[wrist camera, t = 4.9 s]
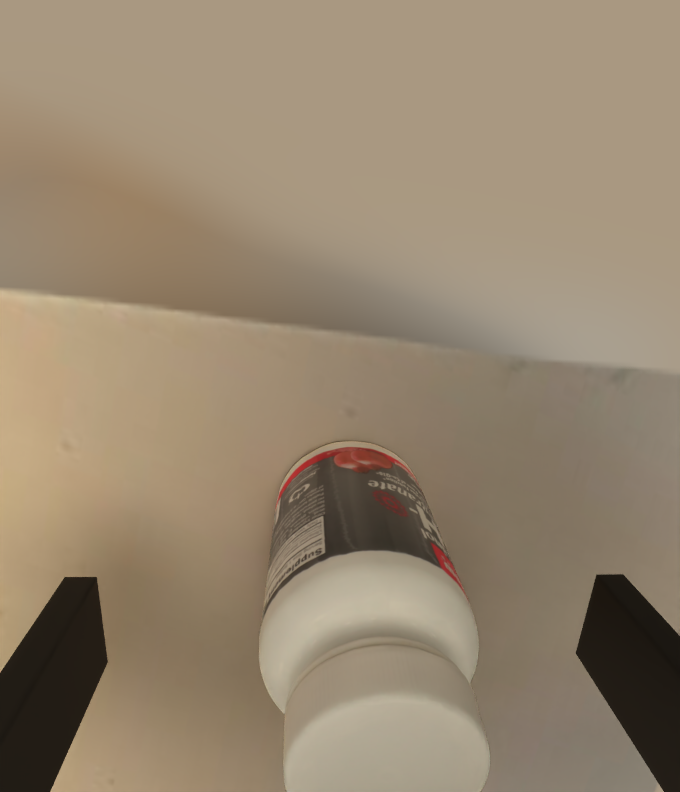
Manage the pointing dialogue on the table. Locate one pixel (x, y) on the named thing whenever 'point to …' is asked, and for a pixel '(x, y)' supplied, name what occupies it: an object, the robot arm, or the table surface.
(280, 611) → the pill bottle
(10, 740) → the robot arm
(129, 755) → the table surface
